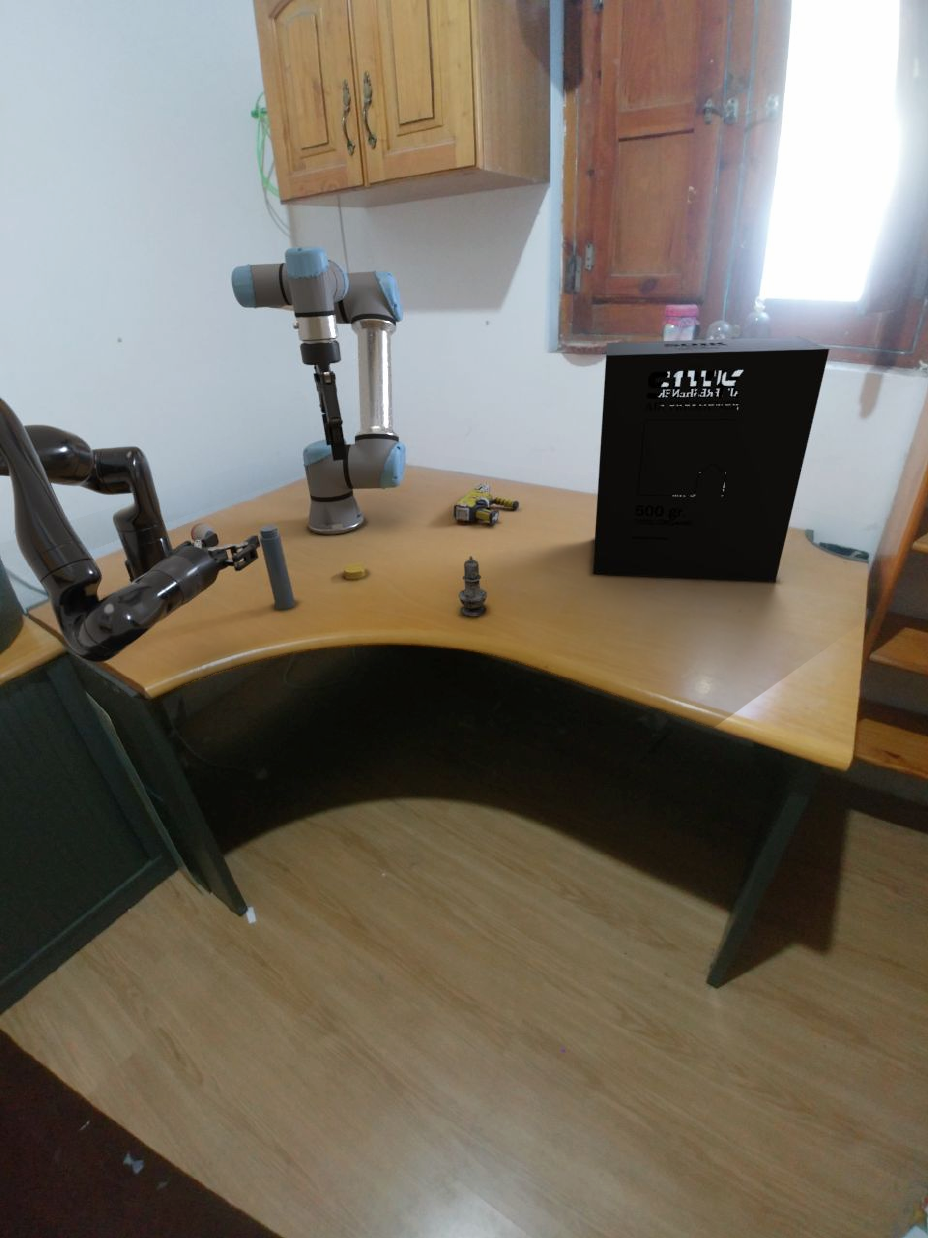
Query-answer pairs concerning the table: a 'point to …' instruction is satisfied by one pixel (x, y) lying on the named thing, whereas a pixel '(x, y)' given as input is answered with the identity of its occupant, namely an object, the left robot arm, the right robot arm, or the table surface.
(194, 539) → the eyeball
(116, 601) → the left robot arm
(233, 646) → the table surface
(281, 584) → the bottle
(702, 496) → the cardboard box
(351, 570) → the lid
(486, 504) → the toy gun
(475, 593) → the grey chess piece
